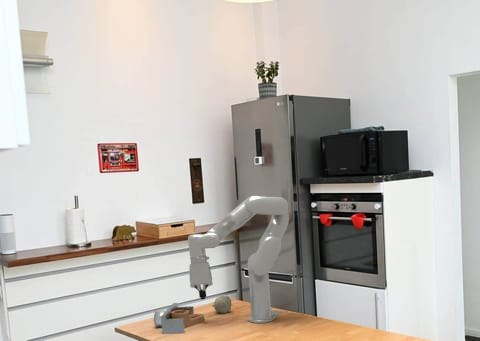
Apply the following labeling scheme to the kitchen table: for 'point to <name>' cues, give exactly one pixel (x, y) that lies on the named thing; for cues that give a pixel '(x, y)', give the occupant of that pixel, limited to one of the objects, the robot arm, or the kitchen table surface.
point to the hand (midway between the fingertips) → (203, 298)
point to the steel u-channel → (167, 322)
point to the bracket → (187, 317)
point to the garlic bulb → (222, 304)
